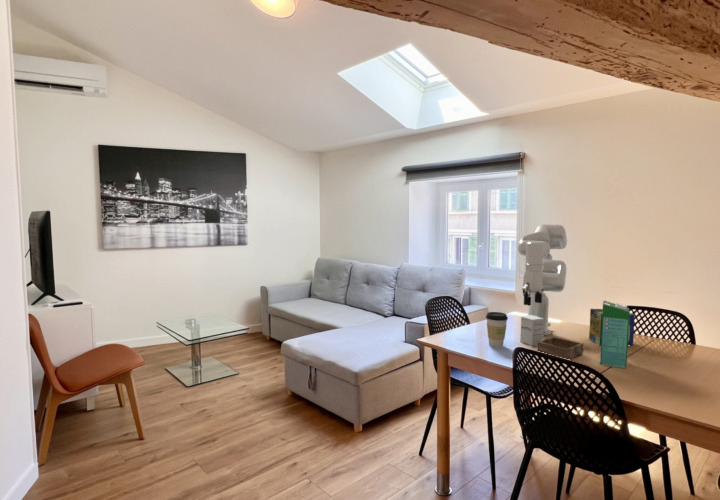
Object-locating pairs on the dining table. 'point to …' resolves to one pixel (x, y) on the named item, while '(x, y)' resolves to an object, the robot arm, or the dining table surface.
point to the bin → (561, 347)
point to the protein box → (596, 326)
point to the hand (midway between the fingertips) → (532, 303)
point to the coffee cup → (496, 328)
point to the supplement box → (531, 329)
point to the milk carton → (614, 334)
